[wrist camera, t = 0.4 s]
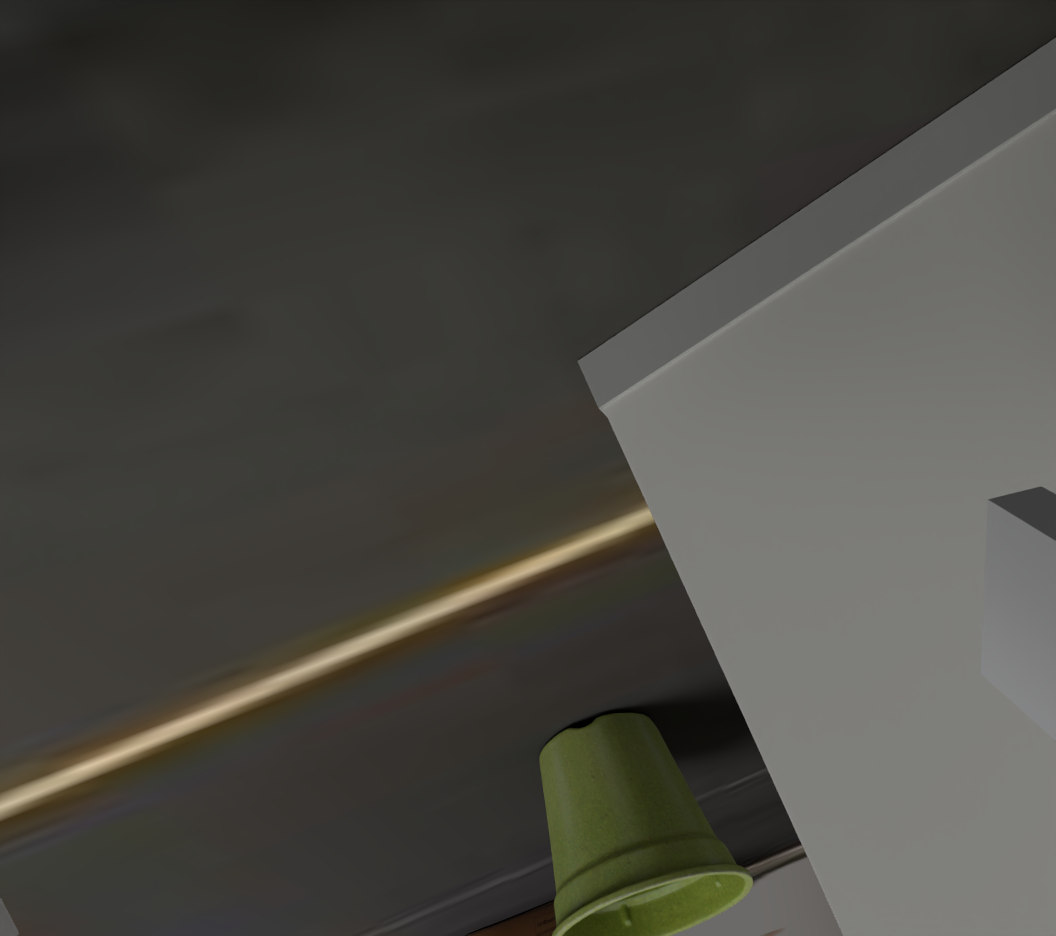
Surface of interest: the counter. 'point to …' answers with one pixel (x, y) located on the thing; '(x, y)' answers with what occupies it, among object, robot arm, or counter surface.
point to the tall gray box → (873, 505)
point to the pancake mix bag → (525, 924)
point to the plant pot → (630, 835)
